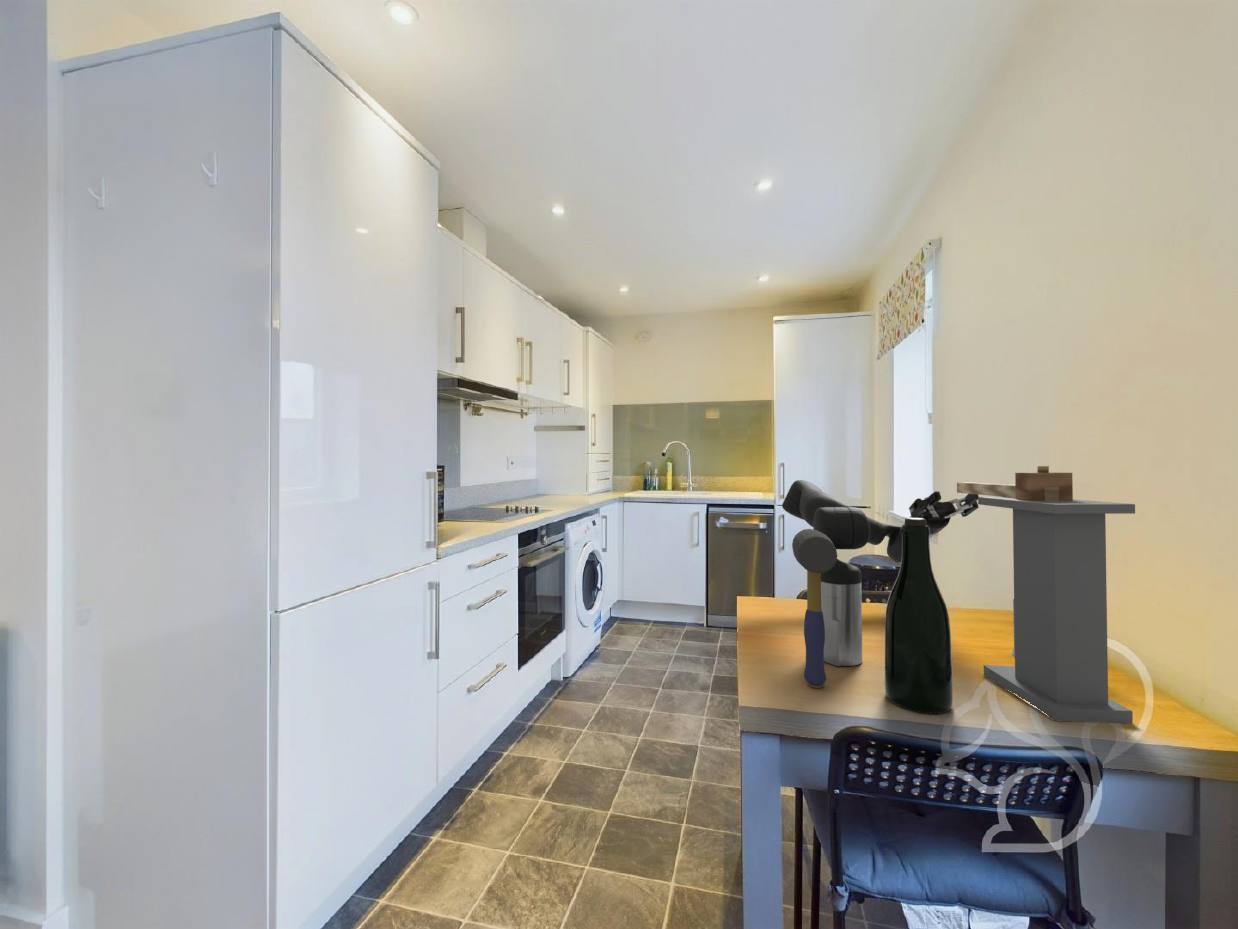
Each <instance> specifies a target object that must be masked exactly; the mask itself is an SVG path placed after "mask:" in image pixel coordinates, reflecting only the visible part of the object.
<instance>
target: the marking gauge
mask: <svg viewBox="0 0 1238 929" xmlns="http://www.w3.org/2000/svg"><path fill="white" fill-rule="evenodd" d="M1036 467H1037V469H1036V470H1037V472H1014V474H1015V475H1014V479H1015V480H1014V481H1015V482H1014V483H1015V484H1008V483H1007V484H1006V483H986V482H970V481H969V482H967V481H966V482H965V481H964V482H963V481H962V482H959V481H958V482H956V493H957V494H966V495H968V494H977V495H978V496H979V495H980V496H988V497H1011V498H1016V499H1019V500H1030V501H1061V500H1073V499H1074V498H1073V497H1074V494H1073V492H1074V491H1073V486H1074V485H1073V484H1074V483H1073V472H1056V471H1055V472H1051V471H1050V468H1049V467H1050V466H1049V465H1048V466H1047V465H1045V466H1044V465H1037V466H1036ZM1049 471H1050V472H1049Z"/></svg>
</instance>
